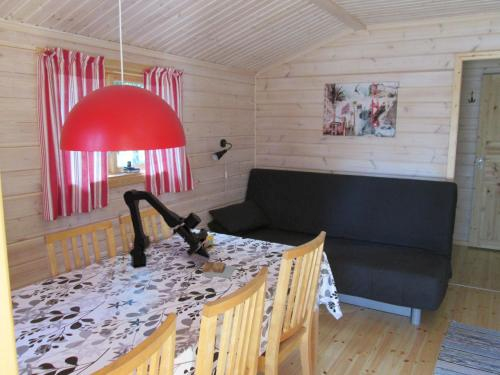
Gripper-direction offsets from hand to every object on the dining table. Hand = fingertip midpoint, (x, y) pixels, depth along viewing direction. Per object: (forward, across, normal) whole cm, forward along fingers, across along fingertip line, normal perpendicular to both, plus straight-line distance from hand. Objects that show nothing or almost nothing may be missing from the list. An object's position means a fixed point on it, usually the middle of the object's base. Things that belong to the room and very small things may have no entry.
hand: (208, 257), depth 216 cm
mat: (+9, 0, +1) cm, 9 cm away
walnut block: (+2, 0, +5) cm, 5 cm away
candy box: (-3, +31, +13) cm, 33 cm away
